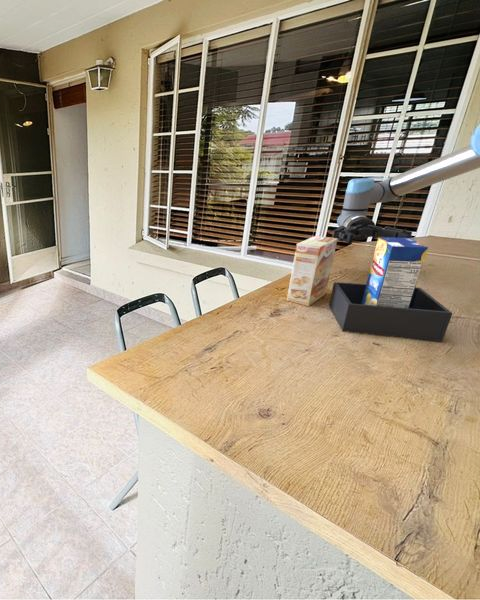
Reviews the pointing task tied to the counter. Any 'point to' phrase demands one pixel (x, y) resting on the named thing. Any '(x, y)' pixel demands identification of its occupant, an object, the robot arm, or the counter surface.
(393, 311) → the bin
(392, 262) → the beverage box
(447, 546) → the counter surface
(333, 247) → the coffeecake box
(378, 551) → the counter surface
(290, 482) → the counter surface
